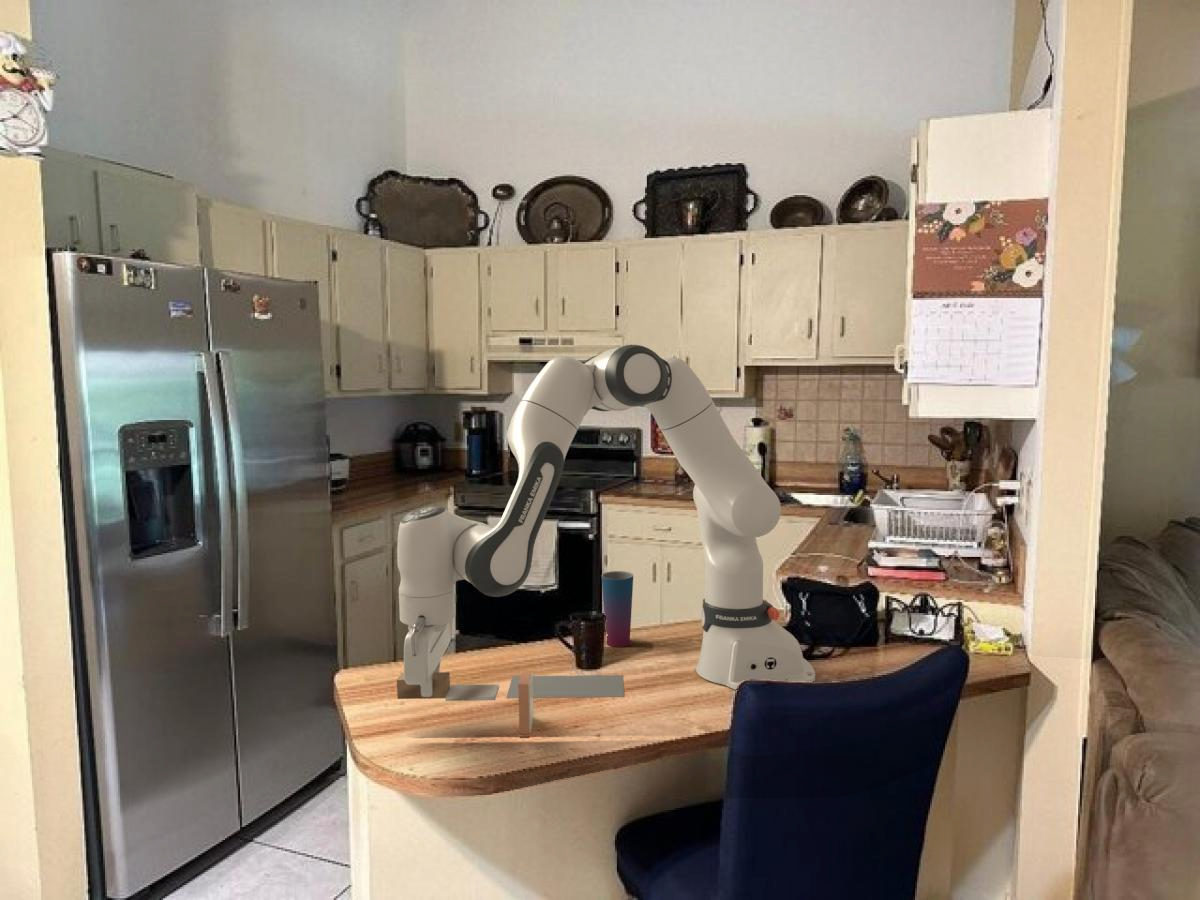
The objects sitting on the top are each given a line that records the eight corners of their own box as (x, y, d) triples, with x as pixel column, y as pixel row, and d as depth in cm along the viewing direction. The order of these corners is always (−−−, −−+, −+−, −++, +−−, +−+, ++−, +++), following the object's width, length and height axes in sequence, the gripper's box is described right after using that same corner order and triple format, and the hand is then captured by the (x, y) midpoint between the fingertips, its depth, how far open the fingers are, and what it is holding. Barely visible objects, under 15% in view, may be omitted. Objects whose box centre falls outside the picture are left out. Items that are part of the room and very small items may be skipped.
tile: (533, 721, 137) (532, 670, 136) (530, 738, 131) (529, 684, 130) (523, 721, 137) (522, 670, 136) (519, 738, 131) (518, 684, 130)
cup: (634, 638, 177) (634, 571, 176) (632, 649, 171) (632, 579, 169) (603, 637, 178) (603, 570, 176) (600, 648, 171) (600, 579, 170)
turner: (395, 701, 131) (395, 682, 130) (403, 689, 136) (402, 670, 135) (495, 700, 131) (494, 681, 130) (499, 687, 136) (498, 669, 135)
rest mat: (622, 679, 155) (622, 675, 154) (624, 700, 145) (624, 696, 144) (512, 680, 155) (512, 676, 154) (506, 702, 145) (506, 697, 145)
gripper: (433, 628, 121) (436, 716, 123) (457, 589, 142) (460, 666, 143) (391, 628, 121) (395, 717, 123) (421, 590, 142) (424, 666, 143)
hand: (430, 689), depth 133 cm, fingers closed on turner, 3 cm apart
